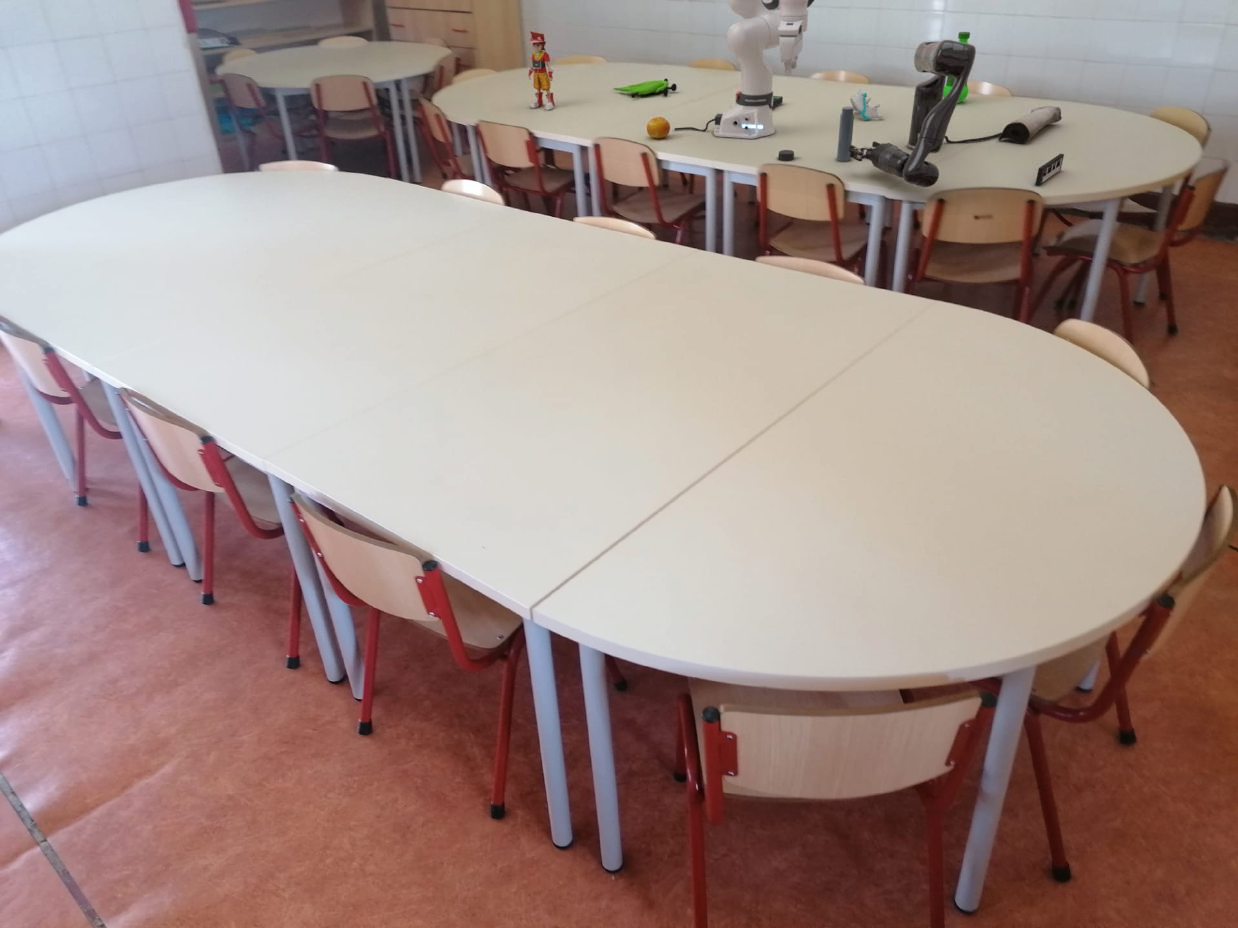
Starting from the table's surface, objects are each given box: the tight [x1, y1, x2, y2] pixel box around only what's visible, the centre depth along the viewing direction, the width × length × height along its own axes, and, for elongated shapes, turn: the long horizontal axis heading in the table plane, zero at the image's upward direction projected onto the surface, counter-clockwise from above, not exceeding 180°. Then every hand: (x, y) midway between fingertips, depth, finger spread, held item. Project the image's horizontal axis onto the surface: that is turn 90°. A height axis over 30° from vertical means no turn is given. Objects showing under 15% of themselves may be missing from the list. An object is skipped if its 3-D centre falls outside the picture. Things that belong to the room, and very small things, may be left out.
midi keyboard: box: [1035, 153, 1065, 186], centre depth 273 cm, size 18×1×5 cm, turn 138°
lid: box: [777, 149, 795, 162], centre depth 304 cm, size 5×5×2 cm
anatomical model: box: [849, 89, 885, 121], centre depth 342 cm, size 15×10×10 cm
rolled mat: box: [998, 105, 1063, 144], centre depth 313 cm, size 30×9×10 cm
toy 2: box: [612, 78, 677, 99], centre depth 396 cm, size 28×5×30 cm
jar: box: [836, 105, 855, 163], centre depth 296 cm, size 4×4×17 cm
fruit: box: [646, 116, 671, 139], centre depth 333 cm, size 8×8×8 cm
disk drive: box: [772, 95, 784, 109], centre depth 364 cm, size 10×3×15 cm
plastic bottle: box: [943, 31, 971, 104], centre depth 348 cm, size 10×10×25 cm
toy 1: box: [527, 31, 556, 111], centre depth 374 cm, size 12×9×30 cm
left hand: (790, 72), depth 289 cm, fingers open, 8 cm apart
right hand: (861, 146), depth 289 cm, fingers open, 8 cm apart
